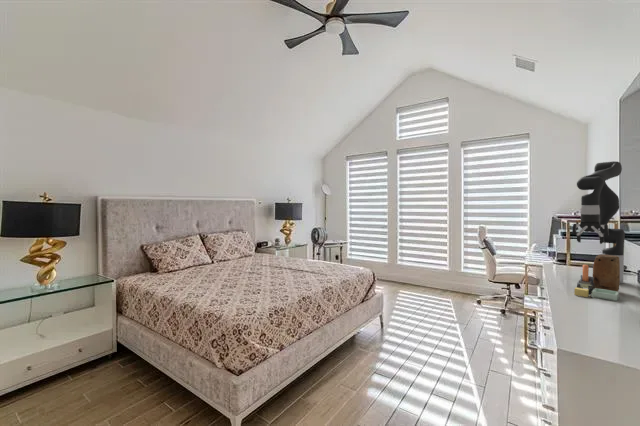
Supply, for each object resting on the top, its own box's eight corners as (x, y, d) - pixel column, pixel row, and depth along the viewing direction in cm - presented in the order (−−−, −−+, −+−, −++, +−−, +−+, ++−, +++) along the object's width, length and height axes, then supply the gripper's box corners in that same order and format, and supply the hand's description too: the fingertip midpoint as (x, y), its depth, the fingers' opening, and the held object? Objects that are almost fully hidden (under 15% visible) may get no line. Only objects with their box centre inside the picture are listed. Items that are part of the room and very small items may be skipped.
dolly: (580, 288, 162) (580, 274, 162) (594, 290, 158) (594, 276, 157) (576, 291, 157) (576, 277, 156) (591, 294, 152) (591, 279, 152)
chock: (575, 293, 154) (576, 287, 153) (588, 295, 150) (588, 289, 149) (574, 295, 151) (574, 288, 151) (587, 297, 147) (587, 290, 147)
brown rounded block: (620, 291, 156) (620, 255, 156) (618, 294, 152) (619, 257, 151) (593, 287, 165) (593, 253, 164) (591, 289, 160) (591, 254, 160)
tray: (595, 293, 153) (595, 287, 153) (619, 297, 146) (619, 291, 146) (591, 296, 148) (591, 291, 148) (616, 301, 140) (616, 295, 140)
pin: (582, 282, 158) (583, 264, 158) (588, 283, 156) (588, 265, 156) (582, 282, 157) (582, 265, 156) (587, 283, 155) (588, 265, 155)
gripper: (609, 213, 150) (609, 243, 151) (574, 213, 161) (574, 241, 162) (607, 214, 145) (607, 245, 146) (571, 213, 156) (571, 242, 157)
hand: (589, 242), depth 154 cm, fingers open, 8 cm apart
